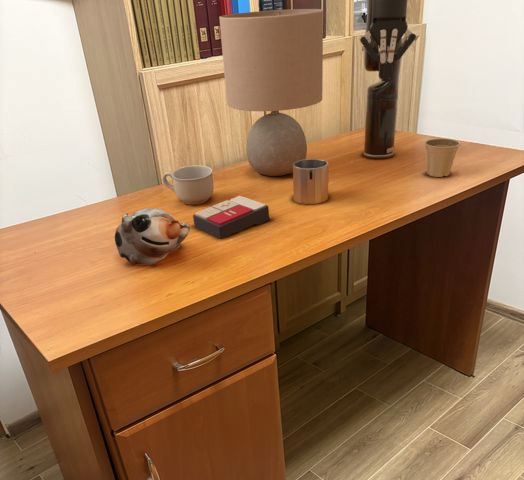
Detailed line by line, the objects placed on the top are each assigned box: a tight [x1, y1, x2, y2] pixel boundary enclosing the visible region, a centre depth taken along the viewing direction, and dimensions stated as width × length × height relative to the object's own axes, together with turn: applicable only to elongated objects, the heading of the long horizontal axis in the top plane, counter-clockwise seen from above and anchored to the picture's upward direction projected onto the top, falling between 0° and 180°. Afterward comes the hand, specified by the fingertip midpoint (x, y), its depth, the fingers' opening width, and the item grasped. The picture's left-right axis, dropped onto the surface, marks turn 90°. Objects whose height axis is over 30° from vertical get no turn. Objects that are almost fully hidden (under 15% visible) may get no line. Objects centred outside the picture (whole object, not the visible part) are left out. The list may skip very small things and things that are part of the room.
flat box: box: [192, 195, 270, 239], centre depth 129 cm, size 11×4×15 cm
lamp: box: [219, 8, 324, 177], centre depth 151 cm, size 27×27×41 cm
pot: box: [292, 158, 330, 205], centre depth 139 cm, size 9×12×9 cm
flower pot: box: [424, 138, 461, 178], centre depth 150 cm, size 9×9×9 cm
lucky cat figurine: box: [114, 207, 191, 266], centre depth 113 cm, size 15×12×14 cm
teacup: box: [161, 164, 215, 206], centre depth 144 cm, size 14×11×8 cm
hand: (384, 80), depth 127 cm, fingers closed
